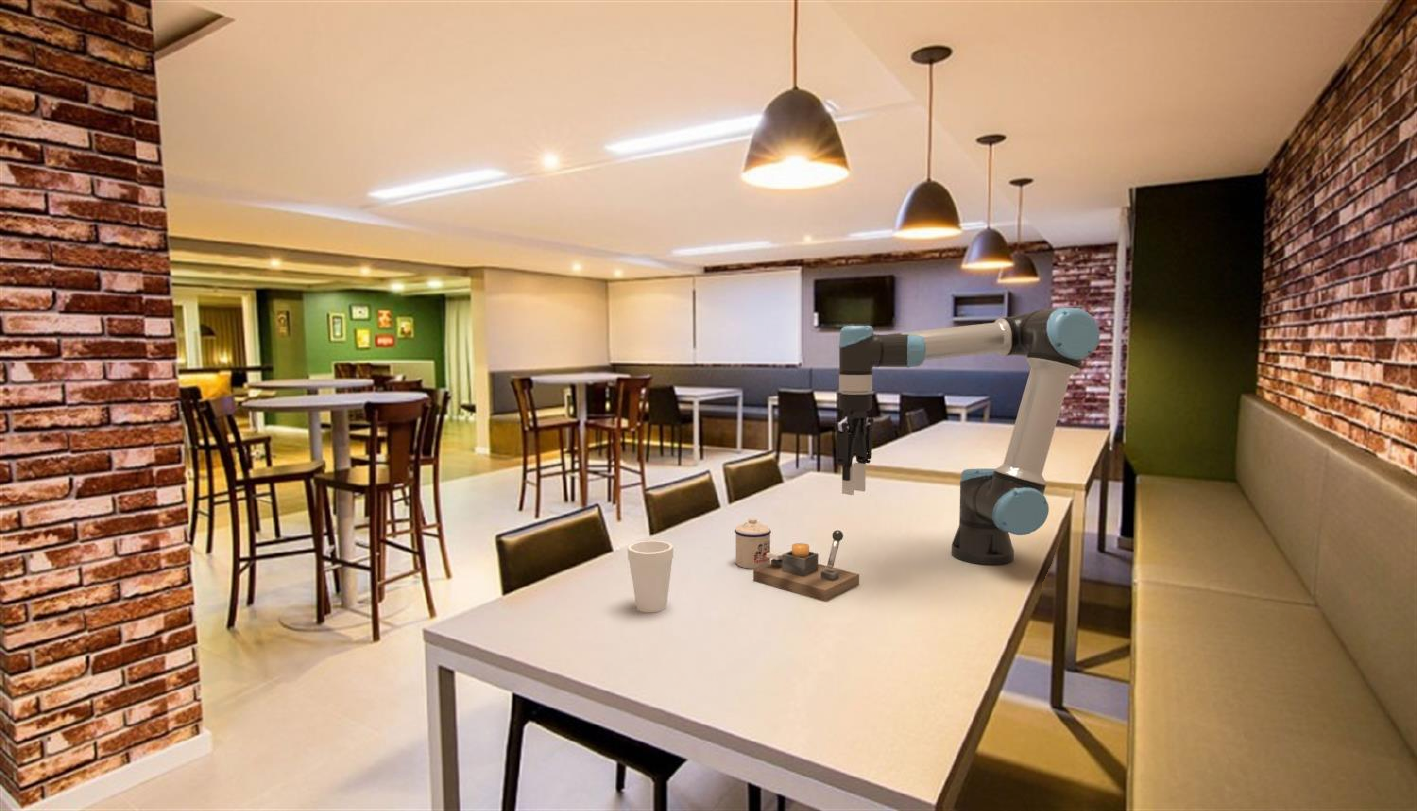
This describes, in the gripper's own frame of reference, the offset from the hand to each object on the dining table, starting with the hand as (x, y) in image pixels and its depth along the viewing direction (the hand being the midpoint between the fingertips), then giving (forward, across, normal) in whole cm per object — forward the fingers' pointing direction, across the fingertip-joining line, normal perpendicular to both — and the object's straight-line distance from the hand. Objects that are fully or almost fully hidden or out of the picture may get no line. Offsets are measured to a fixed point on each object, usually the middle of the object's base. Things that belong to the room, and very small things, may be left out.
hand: (853, 492), depth 161 cm
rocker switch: (+16, +10, -14) cm, 24 cm away
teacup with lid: (+21, +6, -24) cm, 33 cm away
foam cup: (+21, +44, -22) cm, 54 cm away
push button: (+15, +10, -8) cm, 20 cm away
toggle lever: (+16, +10, 0) cm, 19 cm away
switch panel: (+21, +10, -6) cm, 24 cm away
